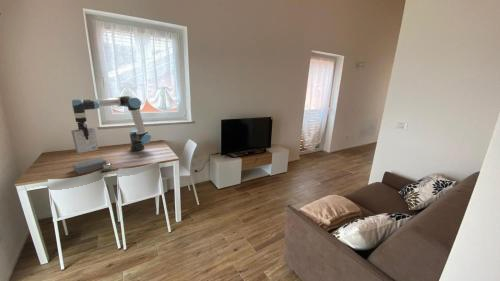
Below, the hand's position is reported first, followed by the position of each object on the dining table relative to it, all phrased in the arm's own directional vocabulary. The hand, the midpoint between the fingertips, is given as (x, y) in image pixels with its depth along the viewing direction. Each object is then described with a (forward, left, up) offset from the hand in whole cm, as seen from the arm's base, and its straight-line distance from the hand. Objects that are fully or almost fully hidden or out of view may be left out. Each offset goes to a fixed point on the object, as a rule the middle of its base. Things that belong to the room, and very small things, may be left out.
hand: (85, 142), depth 189 cm
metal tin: (-9, +14, -26) cm, 31 cm away
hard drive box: (0, 0, -8) cm, 8 cm away
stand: (0, 0, -26) cm, 26 cm away
